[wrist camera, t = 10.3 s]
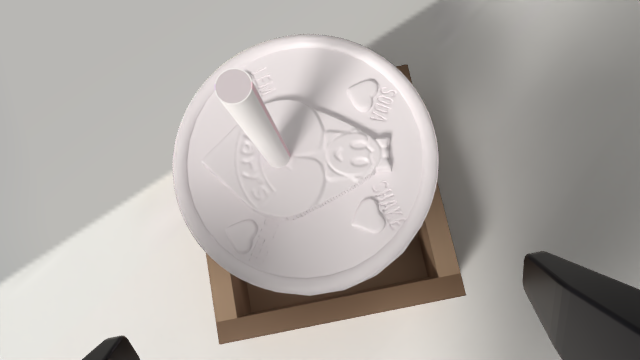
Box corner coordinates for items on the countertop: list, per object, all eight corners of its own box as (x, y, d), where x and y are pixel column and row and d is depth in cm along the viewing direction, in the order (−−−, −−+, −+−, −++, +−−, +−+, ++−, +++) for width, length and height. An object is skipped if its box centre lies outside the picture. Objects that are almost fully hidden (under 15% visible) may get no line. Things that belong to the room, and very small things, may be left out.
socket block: (449, 291, 20) (466, 295, 17) (238, 333, 20) (219, 344, 17) (399, 92, 22) (407, 64, 19) (207, 133, 22) (185, 111, 19)
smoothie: (252, 141, 21) (69, -96, 7) (394, 134, 21) (481, -128, 7) (252, 286, 20) (34, 324, 6) (404, 281, 20) (529, 312, 6)
